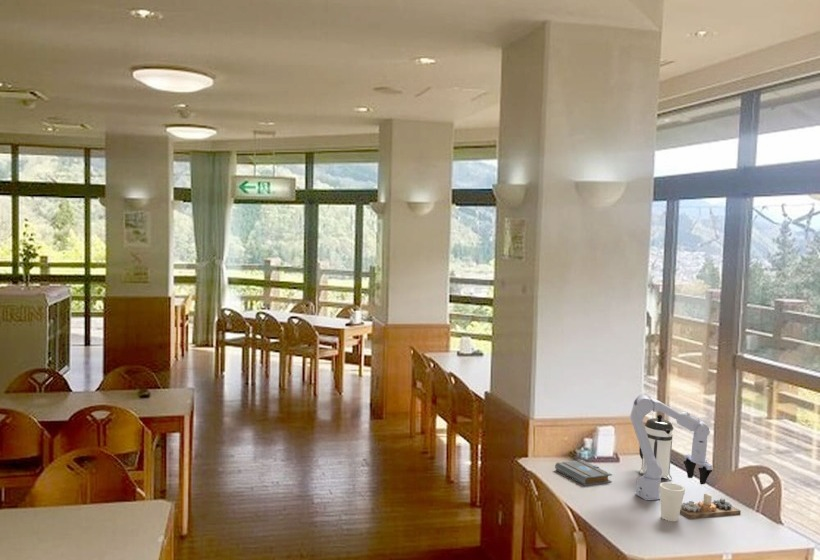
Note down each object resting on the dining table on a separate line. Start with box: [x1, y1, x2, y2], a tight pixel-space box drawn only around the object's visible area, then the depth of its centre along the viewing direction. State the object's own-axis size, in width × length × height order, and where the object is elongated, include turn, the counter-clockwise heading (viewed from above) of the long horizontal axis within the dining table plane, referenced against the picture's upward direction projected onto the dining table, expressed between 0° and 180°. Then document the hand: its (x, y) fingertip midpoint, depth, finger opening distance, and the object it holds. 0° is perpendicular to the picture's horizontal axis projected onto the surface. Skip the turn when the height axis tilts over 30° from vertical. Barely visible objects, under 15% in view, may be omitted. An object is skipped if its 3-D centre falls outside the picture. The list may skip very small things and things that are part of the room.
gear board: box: [679, 501, 741, 520], centre depth 287 cm, size 26×10×3 cm, turn 109°
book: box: [554, 459, 613, 487], centre depth 322 cm, size 21×16×5 cm
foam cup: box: [659, 482, 686, 522], centre depth 277 cm, size 10×9×13 cm
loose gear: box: [697, 493, 716, 511], centre depth 286 cm, size 7×7×6 cm
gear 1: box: [682, 500, 701, 513], centre depth 284 cm, size 7×7×3 cm
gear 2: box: [712, 498, 732, 510], centre depth 289 cm, size 7×7×3 cm
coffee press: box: [638, 414, 675, 480], centre depth 327 cm, size 17×16×30 cm
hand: (696, 480), depth 296 cm, fingers open, 7 cm apart
